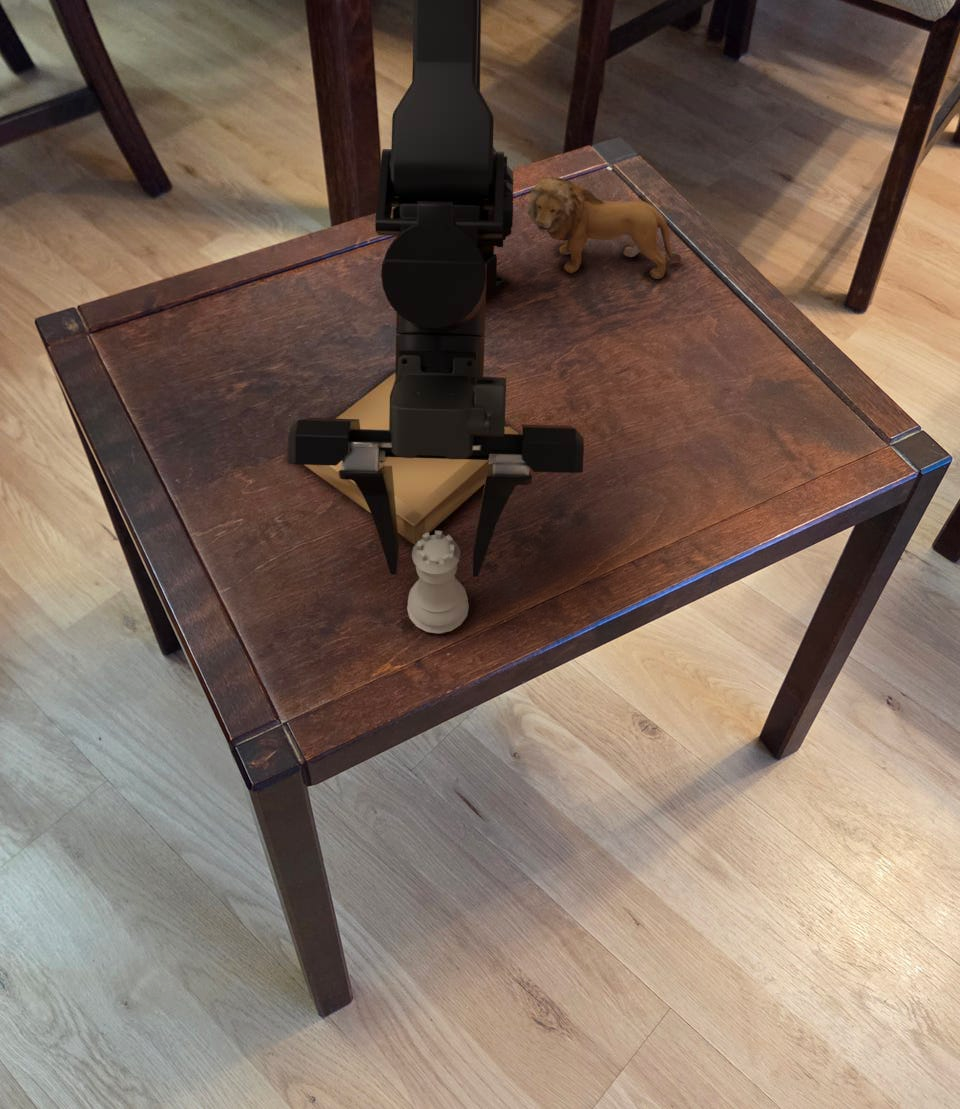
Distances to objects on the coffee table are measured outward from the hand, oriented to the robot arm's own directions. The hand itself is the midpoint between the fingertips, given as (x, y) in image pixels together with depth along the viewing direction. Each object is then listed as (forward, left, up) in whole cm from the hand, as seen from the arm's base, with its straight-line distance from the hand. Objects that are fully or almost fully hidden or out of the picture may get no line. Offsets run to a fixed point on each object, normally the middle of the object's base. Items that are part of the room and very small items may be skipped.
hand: (434, 574), depth 70 cm
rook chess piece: (-1, +1, -7) cm, 7 cm away
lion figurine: (-15, +40, -7) cm, 43 cm away
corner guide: (-13, +11, -7) cm, 18 cm away
